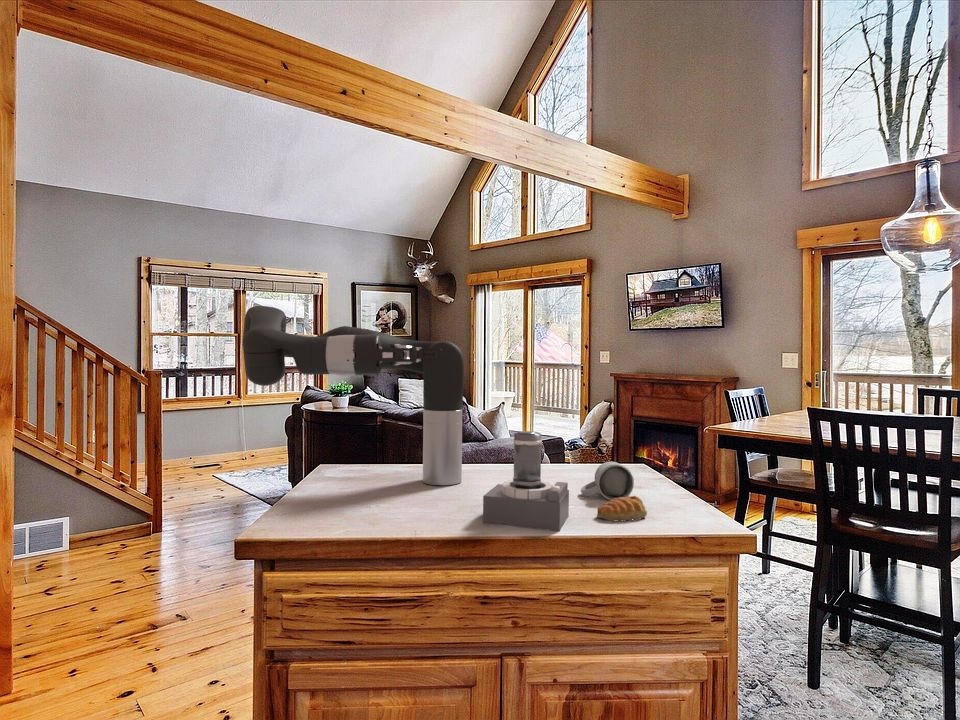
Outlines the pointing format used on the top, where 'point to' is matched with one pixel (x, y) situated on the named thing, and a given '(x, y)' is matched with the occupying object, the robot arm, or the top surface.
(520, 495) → the grey socket block
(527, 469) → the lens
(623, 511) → the pastry
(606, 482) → the ceramic mug
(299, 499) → the top surface
